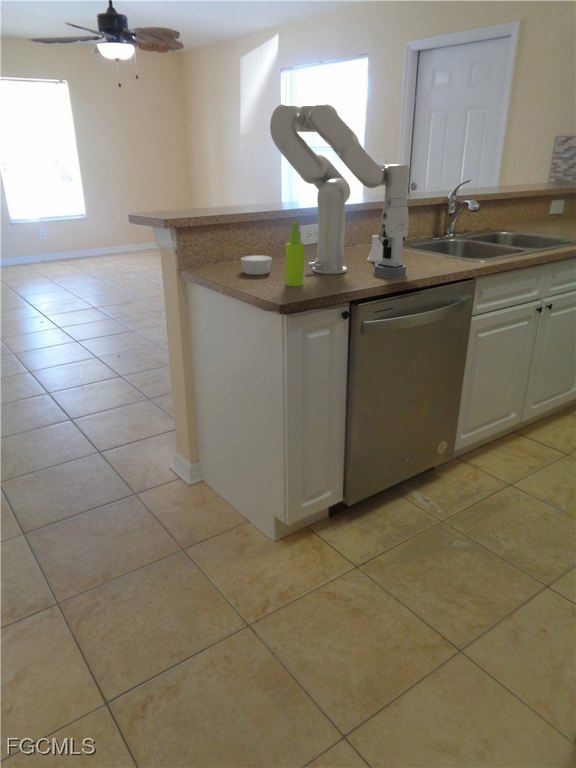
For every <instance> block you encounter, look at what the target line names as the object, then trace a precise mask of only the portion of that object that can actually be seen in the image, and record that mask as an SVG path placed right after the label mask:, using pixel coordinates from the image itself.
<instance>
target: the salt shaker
mask: <svg viewBox="0 0 576 768" xmlns="http://www.w3.org/2000/svg"><path fill="white" fill-rule="evenodd" d="M371 236H372V238H371V239H372V242H371V243H372V244H371V249H370V251H369V255H368V257H367V258H366V259H367V260H366V261H367V262H368V263H372V262H374V264H375V263H381V262H382V247H383V246H382V243H381V241H379V240H378V236H379V234H373V235H371Z"/></svg>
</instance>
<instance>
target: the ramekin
mask: <svg viewBox="0 0 576 768" xmlns="http://www.w3.org/2000/svg"><path fill="white" fill-rule="evenodd" d="M272 261H273V258H272V257H271V256H269V255H246V256H243V257H241V258H240V262H241V267H242V271H243V273H244V274H247V275H251V276H252V275H253V276H262V275H266V274H269V273H270V271H271V267H272Z"/></svg>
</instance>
